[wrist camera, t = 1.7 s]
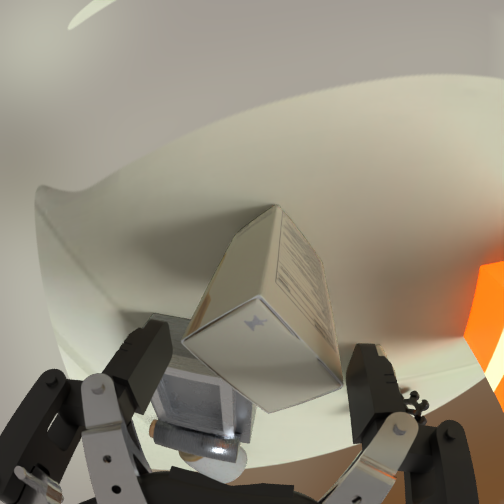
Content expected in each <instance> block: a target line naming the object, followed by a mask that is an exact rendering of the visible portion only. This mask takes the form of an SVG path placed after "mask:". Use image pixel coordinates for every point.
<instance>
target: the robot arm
mask: <svg viewBox="0 0 504 504" xmlns="http://www.w3.org/2000/svg"><path fill="white" fill-rule="evenodd" d="M172 354H173V346H172V341H171V335H170V329H169V324H168V323H167V322H165V321H159V320H154V319H150V320H149V321H148V322H147V324H146V325H145V327H144V328H143V329H142V328H138V329H136V330H135V331H133V332H132V333H130V334H129V336H128V337H127V338H126V340H125V341H124V343H123V344H122V345H121V347H120V348H119V350H118V351H117V352H116V353H115V355H114V356H113V358H112V359H111V360H110V362H109V363H108V365H107V366H106V368H105V369H104V370H103V372H102V373H97V374H92V375H90V376H88V377H87V378H86V379H85V380H84V381H81V380H70V379H66V377H65V375H64V373H63V372H62V371H60V370H58V369H50V370H47V371H45V372H44V373H43V374H42V375H41V376H40V377H39V379H38V380H37V381H36V383H35V384H34V385H33V387H32V388H31V390H30V391H29V393H28V394H27V395H26V397H25V398H24V400H23V401H22V403H21V404H20V406H19V407H18V408H17V410H16V412H15V413H14V415H13V416H12V418H11V419H10V421H9V422H8V424H7V426H6V427H5V429H4V430H3V432H2V434H1V436H0V500H1V501H2V502H3V503H5V504H61V503H62V502H63V500H64V497H63V495H62V491H61V487H60V486H59V483H60V481H61V479H62V477H63V475H64V472H65V470H66V468H67V466H68V464H69V462H70V460H71V457H72V455H73V453H74V451H75V449H76V447H77V445H78V443H79V441H80V439H81V437H82V442H83V447H84V452H85V457H86V462H87V467H88V471H89V474H90V479H91V483H92V486H93V490H94V493H95V497H94V498H92V499H89V500H87V501H84V502H81V503H79V504H381V503H382V501H383V500H384V498H385V497H386V495H387V494H388V492H389V491H390V489H391V487H392V486H393V484H394V482H395V480H396V477H395V474H396V472H397V471H404V480H405V497H406V504H479V500H478V493H477V487H476V480H475V474H474V469H473V464H472V460H471V455H470V451H469V447H468V443H467V439H466V435H465V432H464V429H463V427H462V426H461V425H460V424H459V423H458V422H456V421H453V420H446V421H444V422H442V423H441V424H440V425H439V426H438V427H431V426H425V425H420V424H417V421H416V420H415V418H414V417H413V416H411V415H410V414H408V413H406V411H405V408H404V404H403V400H402V397H401V393H400V390H399V386H398V383H397V380H396V377H395V376H394V374H395V373H394V370H393V367H392V364H391V363H390V362H389V361H388V359H387V358H386V357H385V356H379V355H378V352H377V348H376V346H375V344H357V345H356V347H355V349H354V352H353V355H352V357H351V360H350V363H349V365H348V368H347V372H346V385H347V393H348V401H349V409H350V417H351V427H352V437H353V444H358V443H362V451H361V452H360V453H359V454H358V456H357V457H356V458H355V460H354V461H353V462H352V464H351V465H350V466H349V467H348V469H347V470H346V471H345V472H344V474H343V475H342V476H341V477H340V478H339V480H338V481H337V482H336V483H335V484H334V485H333V486H332V487H331V488H330V489H329V491H327V493H326V494H325V495H324V496H323V497H322V498H321V499H320V500H319V501H318V502H317V501H315V500H314V499H312V498H311V497H309V496H307V495H305V494H302V493H299V492H296V491H294V485H279V484H266V483H261V484H251V485H238V486H230V485H227V484H224V483H222V482H219V481H217V480H215V479H212V478H210V477H208V476H206V475H203V474H201V473H198V472H193V471H189V470H185V469H182V468H178V467H174V466H172V467H171V469H170V471H160V472H152V470H151V468H150V466H149V464H148V462H147V460H146V458H145V456H144V454H143V451H142V448H141V445H140V442H139V439H138V436H137V433H136V430H135V427H134V424H133V420H132V416H133V414H134V412H136V413H139V414H142V415H144V413H145V411H146V409H147V407H148V405H149V403H150V401H151V399H152V397H153V395H154V393H155V391H156V389H157V387H158V385H159V383H160V381H161V379H162V377H163V375H164V373H165V371H166V369H167V367H168V365H169V363H170V361H171V358H172ZM57 413H58V415H57V416H56V418H55V420H54V421H53V423H52V425H51V427H50V428H49V430H48V427H49V425H50V423H51V422H52V420H53V418H54V417H55V415H56V414H57ZM47 430H48V432H47Z"/></svg>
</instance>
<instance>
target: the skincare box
mask: <svg viewBox="0 0 504 504" xmlns="http://www.w3.org/2000/svg"><path fill="white" fill-rule="evenodd" d="M181 343H182V344H183V346H185V347H186V348H187V349H188V350H189V351H190V352H191V353H192V354H193V355H194V356H195V357H196V358H197V359H198V360H199V361H200V362H202V363H203V364H204V365H205V366H206V367H207V368H208V369H209V370H211V371H212V372H213V373H214V374H215V375H217V376H218V377H219V378H221V379H222V380H223V381H224V382H225V383H226V384H228V385H229V386H230V387H232V388H233V389H234V390H236V391H237V392H238V393H240V394H241V395H242V396H244V397H245V398H246V399H248V400H249V401H251V402H252V403H253V404H255V405H256V406H258V407H259V408H261V409H262V410H263V411H265V412H266V413H273V412H276V411H279V410H282V409H286V408H289V407H292V406H295V405H299V404H302V403H304V402H307V401H310V400H313V399H316V398H318V397H321V396H324V395H326V394H329V393H331V392H334V391H336V390H339V389H341V388H342V387H343V376H342V369H341V362H340V356H339V349H338V343H337V337H336V331H335V325H334V319H333V314H332V308H331V303H330V298H329V293H328V288H327V283H326V278H325V273H324V268H323V264H322V261H321V260H320V258H319V257H318V255H317V254H316V253H315V251H314V250H313V248H312V247H311V246H310V244H309V243H308V241H307V240H306V239H305V238H304V236H303V235H302V234H301V232H300V231H299V230H298V228H297V227H296V226H295V225H294V223H293V222H292V221H291V220H290V218H289V217H288V216H287V215H286V214H285V212H284V211H283V210H282V209H281V208H280V207H279V206H278V205H275V206H273V207H272V208H270V209H269V210H267V211H266V212H264V213H263V214H262V215H260V216H259V217H257V218H256V219H254V220H253V221H252V222H250V223H249V224H248V225H246V226H245V227H244V228H243V229H241V230H240V231H239V232H238V233H237V234H235V236H234V238H233V240H232V241H231V243H230V245H229V247H228V249H227V251H226V253H225V255H224V257H223V259H222V260H221V262H220V264H219V266H218V268H217V270H216V272H215V274H214V276H213V277H212V279H211V281H210V283H209V285H208V287H207V289H206V291H205V293H204V295H203V297H202V299H201V301H200V303H199V305H198V307H197V309H196V311H195V313H194V315H193V317H192V319H191V321H190V323H189V325H188V327H187V329H186V331H185V333H184V335H183V337H182V339H181Z"/></svg>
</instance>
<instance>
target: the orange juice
mask: <svg viewBox="0 0 504 504" xmlns="http://www.w3.org/2000/svg"><path fill="white" fill-rule="evenodd" d="M464 338H465V340H466V341H467V343H468V345H469V346H470V348H471V350H472V351H473V353H474V355H475V357H476V358H477V360H478V362H479V364H480V365H481V367H482V369H483V371H484V373H485V376H486V378H487V380H488V382H489V383H490V385H491V387H492V389H493V391H494V392H495V394H496V396H497V399H498V401H499V403H500V405H501V407H502V409H503V412H504V261H501V262H496V263H492V264H487V265H482V266H480V270H479V276H478V281H477V286H476V291H475V296H474V300H473V304H472V308H471V312H470V316H469V320H468V323H467V327H466V330H465V333H464Z"/></svg>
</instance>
